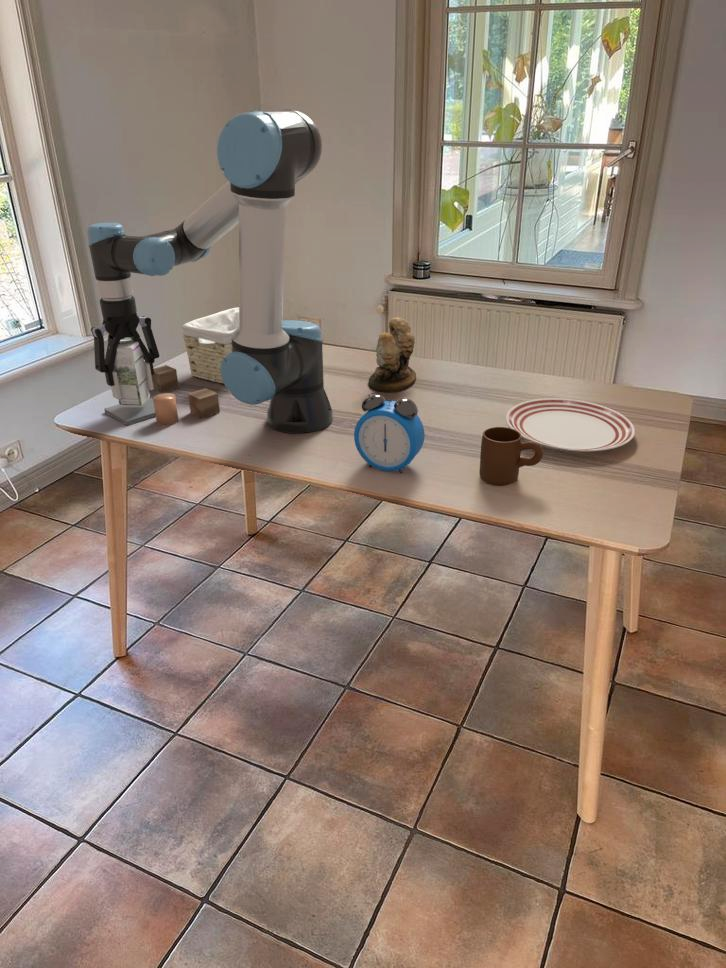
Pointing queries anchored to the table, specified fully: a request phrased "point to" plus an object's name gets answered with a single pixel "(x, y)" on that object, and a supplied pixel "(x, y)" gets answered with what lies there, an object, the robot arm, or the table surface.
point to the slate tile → (132, 412)
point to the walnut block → (204, 403)
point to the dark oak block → (165, 378)
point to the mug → (505, 455)
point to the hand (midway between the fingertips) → (133, 392)
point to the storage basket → (210, 342)
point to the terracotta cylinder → (165, 409)
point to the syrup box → (131, 373)
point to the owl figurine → (394, 358)
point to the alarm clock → (389, 432)
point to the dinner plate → (570, 424)
